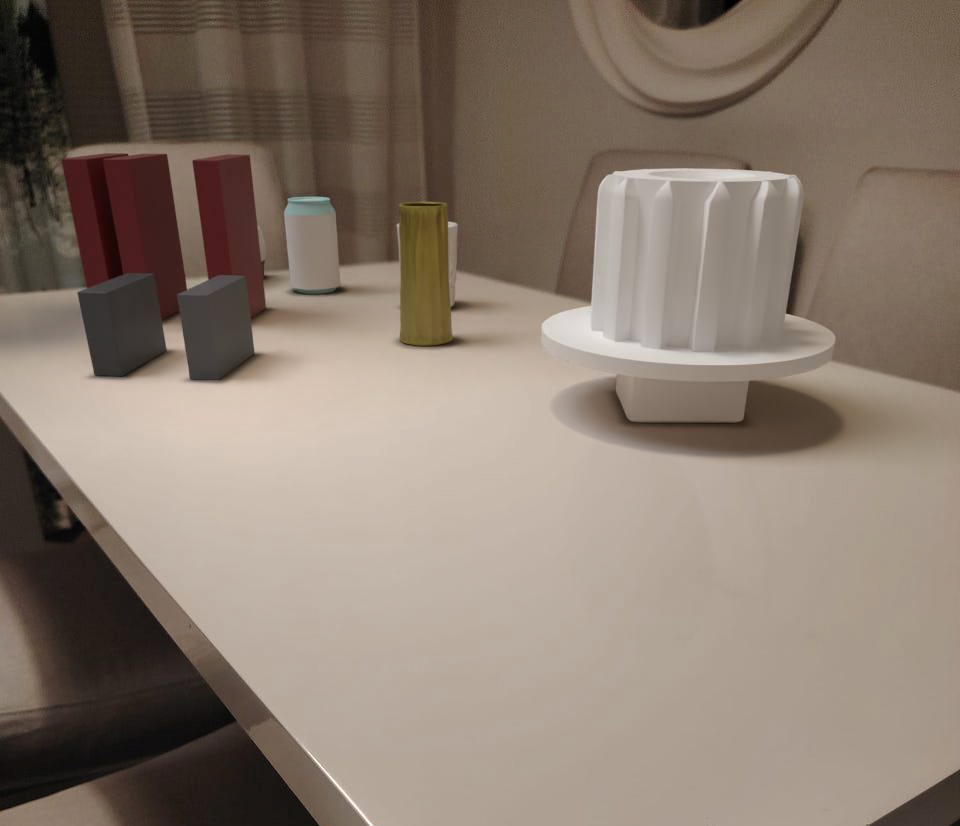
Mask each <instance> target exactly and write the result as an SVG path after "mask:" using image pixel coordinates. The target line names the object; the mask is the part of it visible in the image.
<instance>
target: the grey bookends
mask: <svg viewBox="0 0 960 826" xmlns="http://www.w3.org/2000/svg"><path fill="white" fill-rule="evenodd" d="M77 296H78V303H79V309H80V312H81V317H82V322H83V326H84V331H85V336H86V342H87V347H88V351H89V356H90V361H91V365H92V366H91V367H92V370H93V371H92V372H93V375H94V376H99V377H100V376H101V377H107V376H108V377H124V376H126V375H127V374H129V373H130V372H132V371H134V370H135V369H138V368H140V367H141V366H143V365H144V364H146V363H148V362H149V361H151V360H153V359H154V358H156V357H158V356H160V355H161V354H163V353H165V352H167V343H166V337H165V331H164V325H163V320H162V319H161V312H160V306H159V300H158V294H157V288H156V282H155V276H154V274H146V273H127V274H124V275H121V276H119V277H116V278H113V279H111V280H108V281H105V282H103V283H100V284H97V285H95V286H92V287H89V288H87V287H86V288H84V289H82V290H78V291H77ZM177 298H178V304H179V317H180V324H181V329H182V337H183V342H184V348H185V349H184V351H185V356H186V362H187V369H188V375H189V379H190V380H212V381H213V380H215V381H217V380H218V381H219V380H221V379H222V378H223V377H224V376H226V375H227V374H228V373H230V372H231V371H233V370H234V369H235V368H237V367H238V366H239V365H241V364H242V363H243V362H245V361H246V360H247V359H249V358H250V357H251V356H253V355H254V354H255V353H256V352H255V344H254V336H253V327H252V319H251V318H252V317H251V318H250V309H249V301H248V292H247V284H246V276H234V275H218V276H216V277H214V278H211V279H209V280H208V279H207V280H205V281H203V282H201V283H198V284H196V285H194V286H192V287H190V288H187V290H186V291H184V292H181V293H179V294H177Z"/></svg>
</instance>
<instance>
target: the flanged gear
mask: <svg viewBox="0 0 960 826" xmlns="http://www.w3.org/2000/svg"><path fill="white" fill-rule="evenodd" d="M804 200H805V191H804V187H803V184H802V182H801V180H800V179H799V178H798V176H797V175H796V174H786V173H781V172H773V171H770V170H769V171H767V170H765V171H764V170H750V169H733V168H727V169H726V168H693V167H692V168H689V167H688V168H687V167H682V168H681V167H680V168H642V169H629V170H622V171H621V170H620V171H619V170H615V171H613V172H612V173H611V174H607V175H606V176H605V177H604V178H603V179H602V180H601V182H600V183H599V186H598V189H597V199H596V216H595V217H596V218H595V232H594V233H595V235H594V250H593V251H594V252H593V267H592V283H591V285H592V287H591V303H590V305H587V306H581V307H576V308H572V309H568V310H564V311H561V312H558V313H556V314H553V315H551V316H549V317H548V318H546V319H545V320H544V321H543V322H542V324H541V333H540V336H541V337H540V343H541V347H542V348H543V349H544V350H545V351H546V352H547V353H549V354H550V355H552V356H554V357H556V358H557V359H560V360H562V361H564V362H566V363H570V364H573V365H575V366H580V367H583V368H586V369H590V370H591V369H592V370H595V371H600V372H604V373H608V374H615V375H616V381H615V382H616V383H615V392H616V395H617V397H618V399H619V402H620V404H621V407H622V409H623V411H624V414H625V417H626V418H627V420H628V421H630V422H631V423H681V424H683V423H685V424H686V423H687V424H688V423H689V424H690V423H695V424H696V423H705V424H708V423H709V424H710V423H715V424H719V423H721V424H722V423H723V424H728V423H731V424H734V423H740V422H742V421H743V420H744V418H745V411H746V403H747V396H748V391H749V390H748V389H749V385H750V384H749V383H750V382H751V381H761V380H762V381H763V380H771V379H778V378H786V377H793V376H796V375H801V374H805V373H809V372H812V371H814V370H817V369H819V368H821V367H823V366H826V365H827V364H829V362H830V361H831V360H832V359H833V356H834V349H835V346H836V336H835V334H834V333H833V332H832V330H830V329H828V328H827V327H825V326H824V325H822V324H820V323H817V322H815V321H812V320H809V319H807V318H803V317H800V316H796V315H794V314H793V315H792V314H788V313H787V308H788V301H789V295H790V289H791V282H792V275H793V271H794V265H795V257H796V251H797V244H798V238H799V232H800V228H801V227H800V226H801V219H802V213H803V206H804Z"/></svg>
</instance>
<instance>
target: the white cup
mask: <svg viewBox="0 0 960 826" xmlns="http://www.w3.org/2000/svg"><path fill="white" fill-rule="evenodd" d="M395 226H396V237H397V249H398V259H399V260H398V261H399V264H400V235H399V223H396V225H395ZM458 236H459V224H458V223H457V222H453V221H448V260H449V291H450V306H451V308H453V306H455V303H456V287H455V286H456V283H457V267H458V239H459V238H458Z"/></svg>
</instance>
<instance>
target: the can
mask: <svg viewBox="0 0 960 826" xmlns="http://www.w3.org/2000/svg"><path fill="white" fill-rule="evenodd" d="M336 215H337V213H336V210H335V208H334V206H333V205H332V204H331V199H330V197H326V196H297V197H296V196H295V197H289V198H287V205H286V207H285V209H284V211H283V220H284V228H285V238H286V251H287V260H288V261H287V262H288V270H289V271H288V272H289V281H290V287H291V288H292V289H294V290H296V292H298V293H300V294H309V295H311V294H313V295H316V294H318V295H319V294H327V293H328V294H329V293H333V292H335V291H336V289H337V288H339V287H340V286H341V272H340V257H339V244H338V243H339V242H338V228H337V227H338V226H337V216H336Z"/></svg>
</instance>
